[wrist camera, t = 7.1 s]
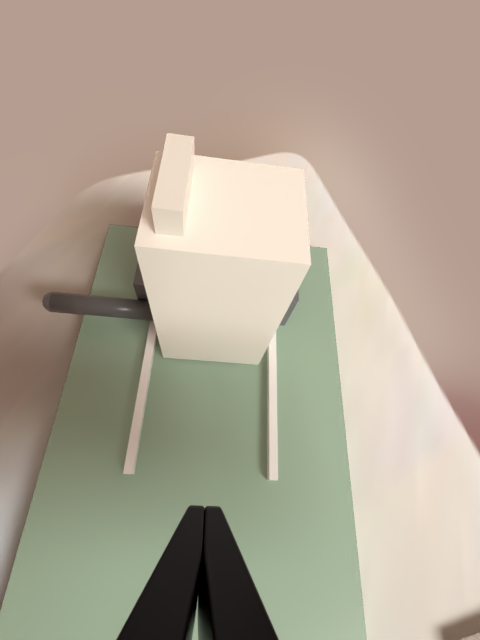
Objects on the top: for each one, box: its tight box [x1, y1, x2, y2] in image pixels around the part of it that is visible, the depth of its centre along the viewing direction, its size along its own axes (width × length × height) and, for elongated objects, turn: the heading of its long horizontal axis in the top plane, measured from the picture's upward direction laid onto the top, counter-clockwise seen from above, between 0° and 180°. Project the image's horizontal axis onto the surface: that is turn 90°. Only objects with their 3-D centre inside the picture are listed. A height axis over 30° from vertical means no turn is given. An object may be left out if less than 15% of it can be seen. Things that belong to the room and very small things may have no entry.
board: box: [0, 224, 367, 640], centre depth 16 cm, size 22×14×2 cm, turn 178°
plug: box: [42, 133, 311, 365], centre depth 13 cm, size 4×11×10 cm, turn 88°
